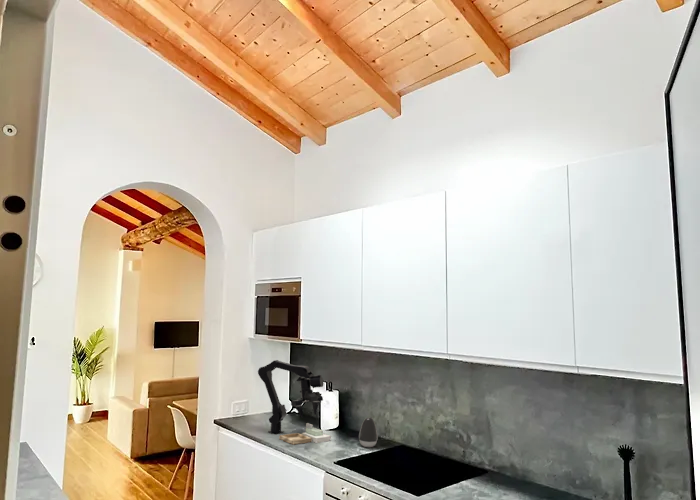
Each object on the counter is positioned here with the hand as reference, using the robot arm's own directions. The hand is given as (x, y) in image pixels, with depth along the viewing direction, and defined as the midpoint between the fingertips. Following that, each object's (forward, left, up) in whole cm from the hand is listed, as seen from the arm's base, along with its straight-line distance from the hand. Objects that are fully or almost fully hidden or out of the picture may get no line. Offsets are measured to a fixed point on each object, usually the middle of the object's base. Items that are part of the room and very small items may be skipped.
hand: (308, 416), depth 295 cm
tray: (+5, -11, -11) cm, 17 cm away
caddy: (+4, +1, -12) cm, 12 cm away
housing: (+7, +1, -11) cm, 13 cm away
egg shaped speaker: (+34, +17, -12) cm, 39 cm away
